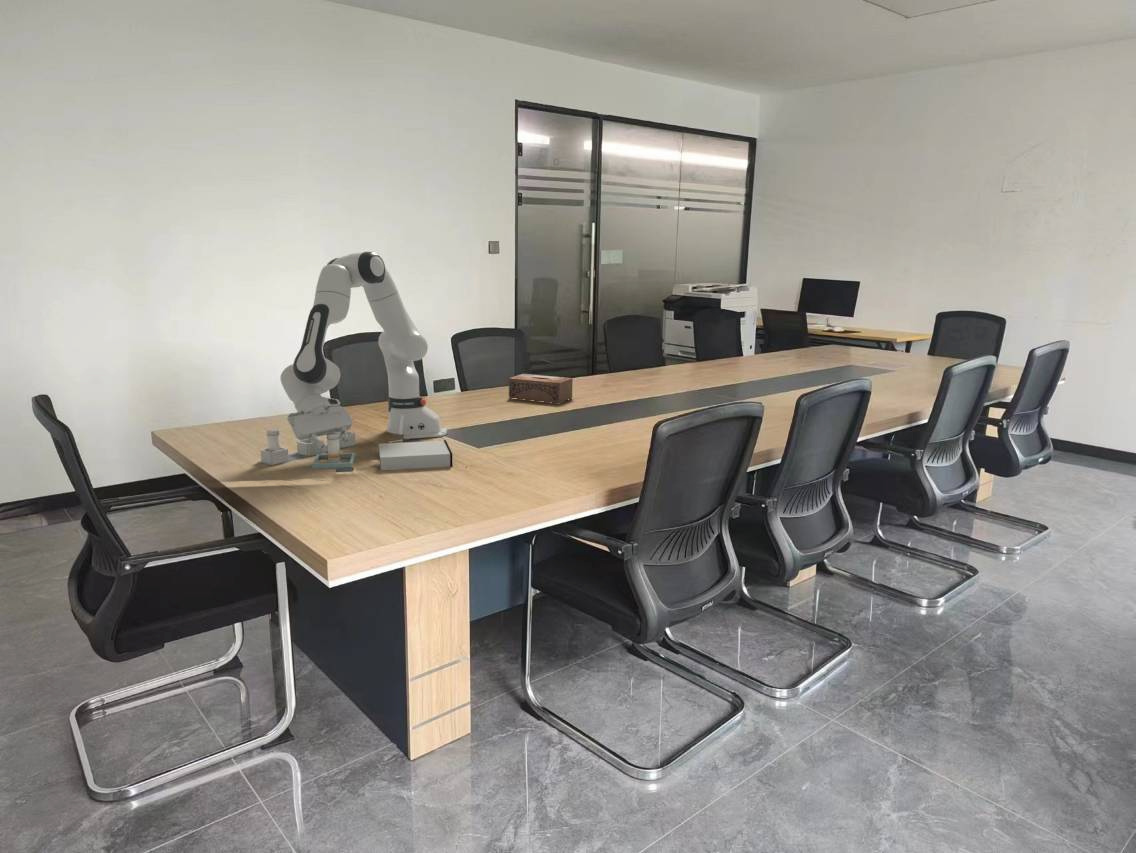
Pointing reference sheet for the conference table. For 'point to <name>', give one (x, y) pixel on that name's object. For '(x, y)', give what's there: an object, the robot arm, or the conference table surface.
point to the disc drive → (415, 455)
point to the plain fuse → (273, 440)
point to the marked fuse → (333, 448)
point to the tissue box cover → (540, 388)
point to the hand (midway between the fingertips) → (334, 443)
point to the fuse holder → (300, 451)
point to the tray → (335, 465)
